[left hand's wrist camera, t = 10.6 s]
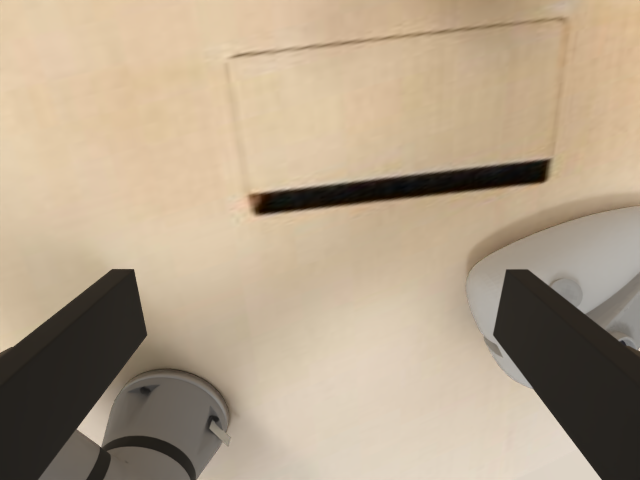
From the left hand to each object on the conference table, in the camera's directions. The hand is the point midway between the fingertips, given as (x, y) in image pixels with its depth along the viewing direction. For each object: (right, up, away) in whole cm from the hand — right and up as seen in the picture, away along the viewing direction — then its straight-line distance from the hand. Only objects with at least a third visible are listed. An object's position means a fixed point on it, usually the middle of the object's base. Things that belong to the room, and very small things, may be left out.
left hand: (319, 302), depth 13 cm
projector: (+28, -1, +29) cm, 40 cm away
